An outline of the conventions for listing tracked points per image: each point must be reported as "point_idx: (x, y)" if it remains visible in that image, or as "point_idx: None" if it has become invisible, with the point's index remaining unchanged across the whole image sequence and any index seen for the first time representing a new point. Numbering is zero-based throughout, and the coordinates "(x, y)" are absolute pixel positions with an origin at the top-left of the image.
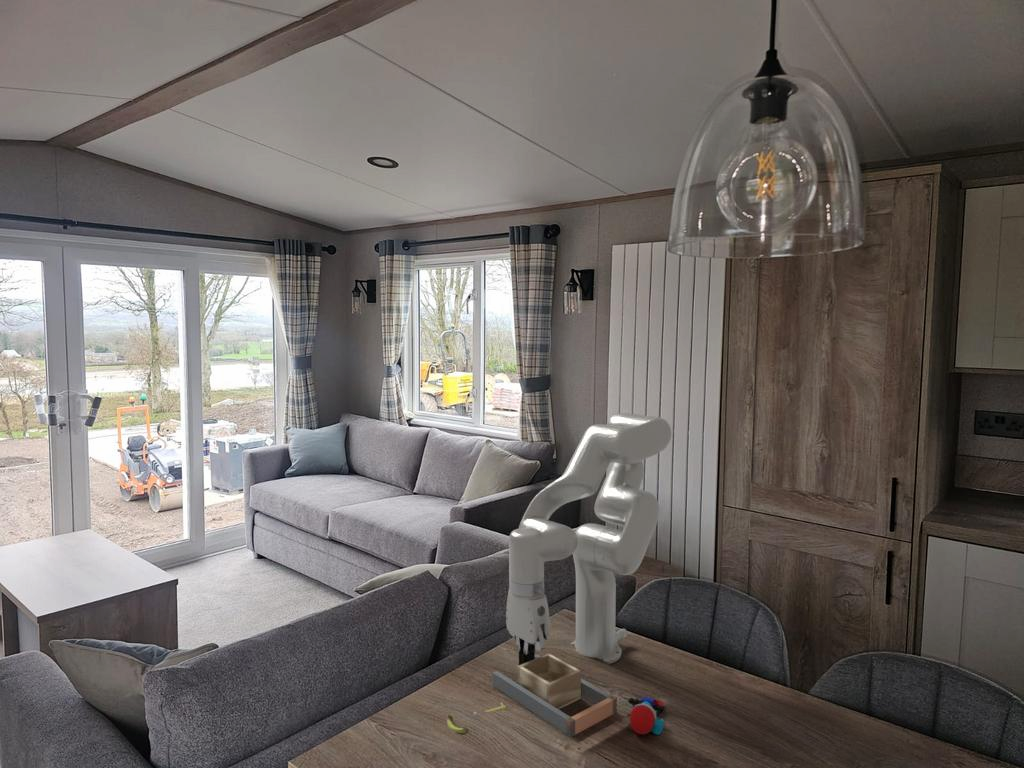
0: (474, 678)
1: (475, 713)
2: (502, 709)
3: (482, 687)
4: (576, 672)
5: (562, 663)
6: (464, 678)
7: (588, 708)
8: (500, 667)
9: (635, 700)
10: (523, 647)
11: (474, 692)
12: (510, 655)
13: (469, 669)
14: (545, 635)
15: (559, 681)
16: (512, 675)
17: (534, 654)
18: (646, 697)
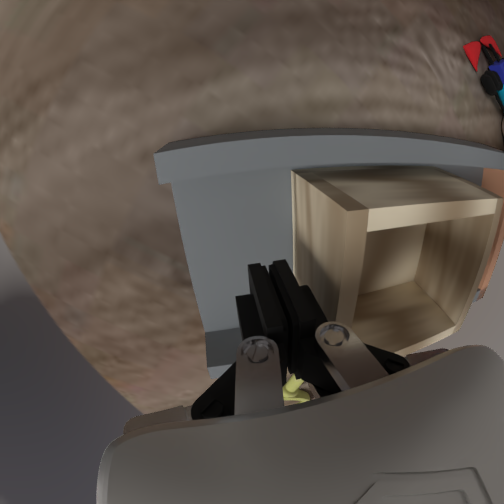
0: (120, 339)
1: (294, 396)
2: None
3: (174, 342)
4: (497, 219)
5: (451, 218)
6: (113, 354)
7: (497, 241)
8: (80, 252)
9: (497, 84)
10: (283, 383)
11: (189, 362)
12: (22, 182)
13: (71, 327)
14: (463, 366)
15: (472, 295)
16: (145, 243)
17: (304, 297)
18: (502, 64)
